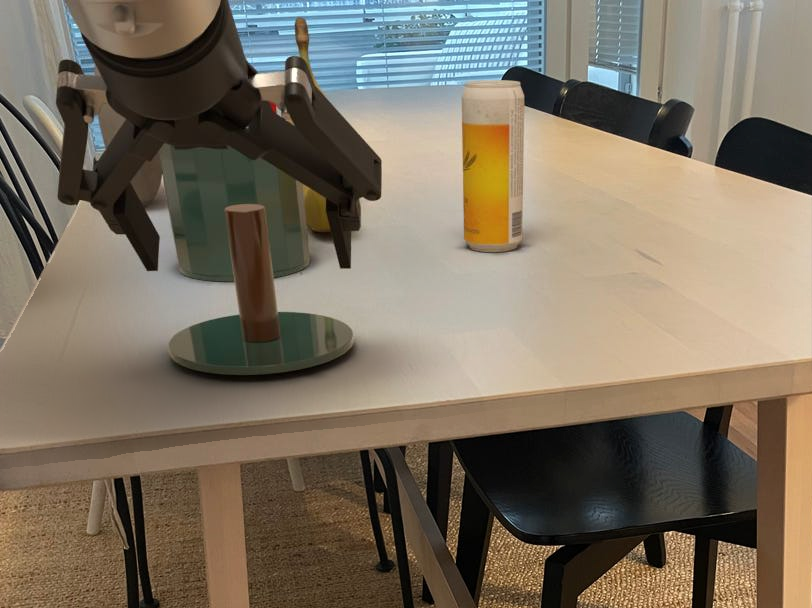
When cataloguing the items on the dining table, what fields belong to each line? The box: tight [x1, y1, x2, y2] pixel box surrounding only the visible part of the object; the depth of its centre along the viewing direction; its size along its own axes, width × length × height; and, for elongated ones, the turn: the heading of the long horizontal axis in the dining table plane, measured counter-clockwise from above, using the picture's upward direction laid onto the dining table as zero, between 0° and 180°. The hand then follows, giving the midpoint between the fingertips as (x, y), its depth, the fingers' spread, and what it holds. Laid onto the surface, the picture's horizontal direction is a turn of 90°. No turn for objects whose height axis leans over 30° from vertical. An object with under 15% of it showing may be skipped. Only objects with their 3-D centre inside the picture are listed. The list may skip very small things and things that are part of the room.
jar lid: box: [167, 204, 355, 376], centre depth 71 cm, size 14×14×10 cm
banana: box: [287, 16, 331, 233], centre depth 107 cm, size 23×6×20 cm, turn 12°
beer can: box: [461, 79, 525, 253], centre depth 99 cm, size 6×6×15 cm
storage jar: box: [159, 127, 311, 283], centre depth 94 cm, size 13×13×12 cm
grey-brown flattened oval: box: [93, 64, 163, 205], centre depth 120 cm, size 18×7×19 cm, turn 21°
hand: (249, 252), depth 69 cm, fingers open, 13 cm apart
